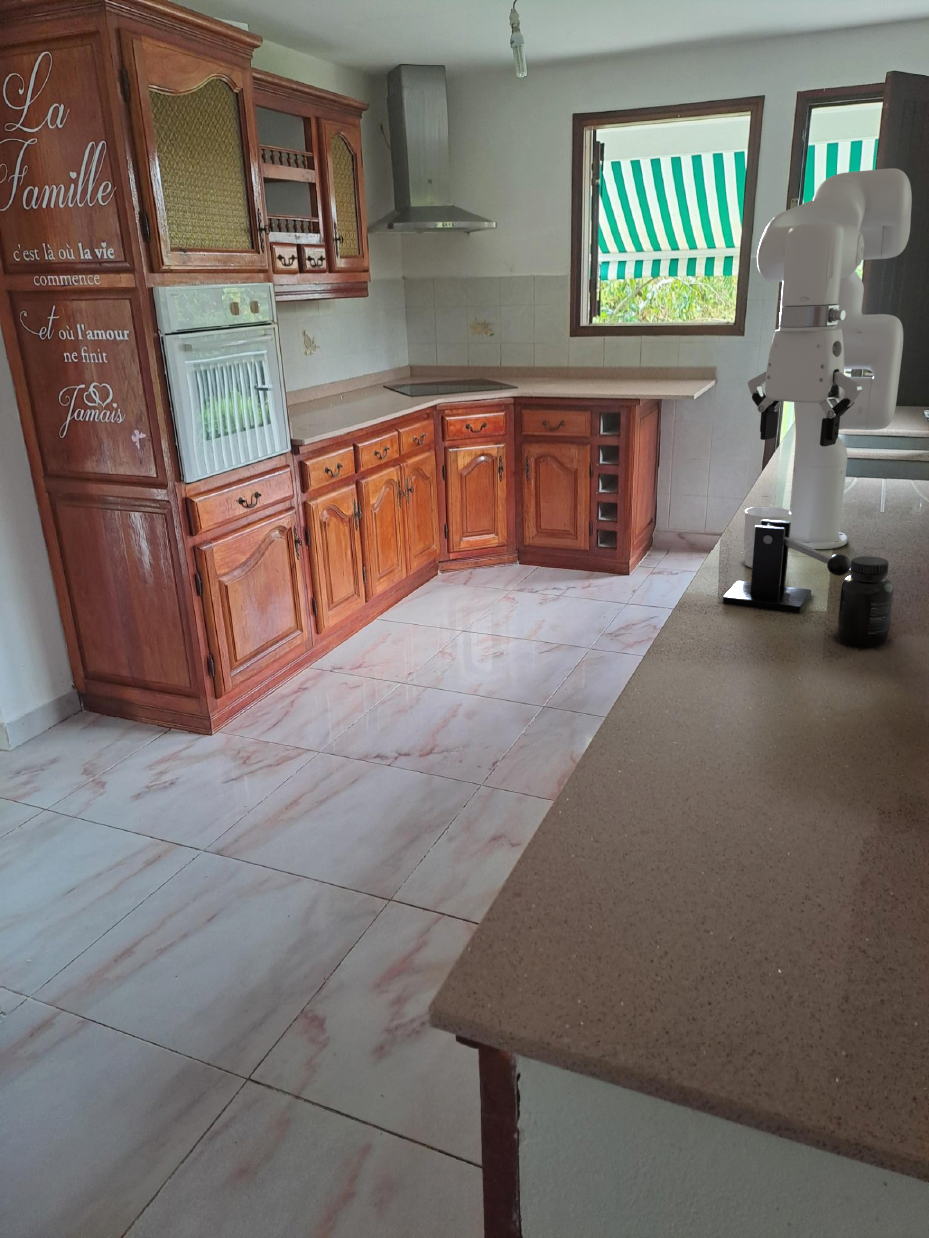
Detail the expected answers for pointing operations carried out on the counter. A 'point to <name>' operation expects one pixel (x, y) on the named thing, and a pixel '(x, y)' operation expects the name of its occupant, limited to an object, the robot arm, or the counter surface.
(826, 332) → the robot arm
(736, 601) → the black lever stand
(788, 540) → the tap lever
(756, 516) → the white cup
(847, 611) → the supplement bottle
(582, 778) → the counter surface
